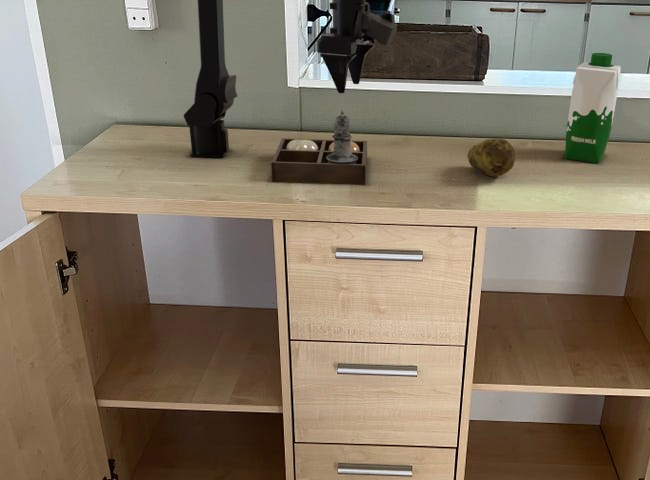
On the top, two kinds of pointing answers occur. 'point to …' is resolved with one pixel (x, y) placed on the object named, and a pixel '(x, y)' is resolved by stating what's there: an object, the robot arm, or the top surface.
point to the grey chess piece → (342, 142)
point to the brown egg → (353, 147)
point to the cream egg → (302, 145)
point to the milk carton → (592, 108)
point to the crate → (317, 164)
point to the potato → (492, 157)
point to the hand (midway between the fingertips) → (348, 88)
